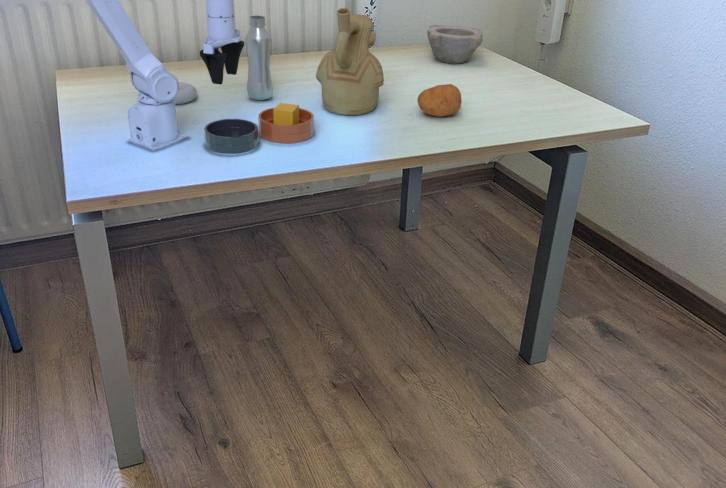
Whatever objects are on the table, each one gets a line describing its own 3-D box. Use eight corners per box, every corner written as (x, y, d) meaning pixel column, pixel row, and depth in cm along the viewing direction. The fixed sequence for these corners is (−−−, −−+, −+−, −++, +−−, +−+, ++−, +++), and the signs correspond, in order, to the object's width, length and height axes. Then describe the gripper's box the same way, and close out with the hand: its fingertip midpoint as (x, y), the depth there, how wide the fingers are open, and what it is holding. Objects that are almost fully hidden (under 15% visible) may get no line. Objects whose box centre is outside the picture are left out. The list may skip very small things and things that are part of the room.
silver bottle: (260, 92, 173) (257, 12, 163) (278, 98, 170) (277, 17, 159) (241, 98, 169) (237, 16, 159) (260, 104, 165) (256, 21, 155)
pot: (233, 160, 136) (232, 141, 134) (194, 146, 141) (193, 128, 139) (269, 144, 144) (268, 126, 142) (231, 132, 149) (230, 115, 147)
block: (292, 137, 146) (292, 111, 143) (273, 135, 147) (273, 109, 144) (299, 130, 150) (299, 105, 147) (280, 128, 151) (280, 102, 148)
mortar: (478, 55, 215) (482, 25, 210) (479, 69, 200) (483, 38, 196) (426, 51, 217) (429, 22, 212) (423, 65, 202) (426, 34, 197)
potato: (466, 120, 162) (470, 90, 158) (423, 123, 159) (426, 92, 155) (452, 107, 169) (456, 78, 165) (410, 110, 166) (413, 80, 163)
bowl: (290, 150, 141) (290, 129, 139) (247, 136, 147) (247, 116, 145) (324, 134, 150) (324, 114, 148) (283, 121, 156) (282, 103, 153)
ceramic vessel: (390, 100, 172) (397, -2, 160) (371, 125, 156) (376, 14, 143) (328, 92, 176) (329, -8, 163) (302, 116, 160) (301, 7, 147)
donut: (148, 104, 163) (187, 107, 161) (146, 90, 161) (185, 93, 159) (167, 92, 171) (204, 95, 169) (165, 78, 169) (202, 82, 168)
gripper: (223, 24, 134) (228, 90, 141) (251, 10, 146) (254, 71, 153) (191, 21, 136) (197, 86, 143) (221, 7, 148) (225, 68, 155)
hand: (224, 78), depth 148 cm, fingers open, 7 cm apart
